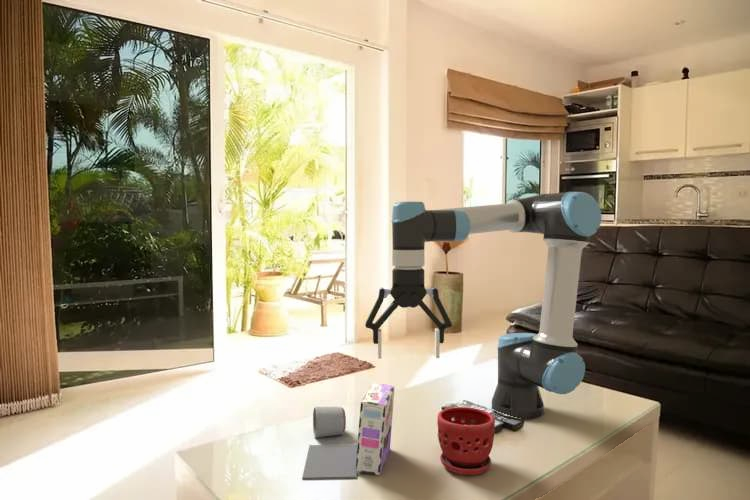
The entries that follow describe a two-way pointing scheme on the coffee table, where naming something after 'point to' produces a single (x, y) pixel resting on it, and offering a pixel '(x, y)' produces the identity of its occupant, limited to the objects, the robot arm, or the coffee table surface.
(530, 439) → the coffee table surface
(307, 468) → the mat
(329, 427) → the ceramic mug
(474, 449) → the plant pot
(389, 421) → the candy box
